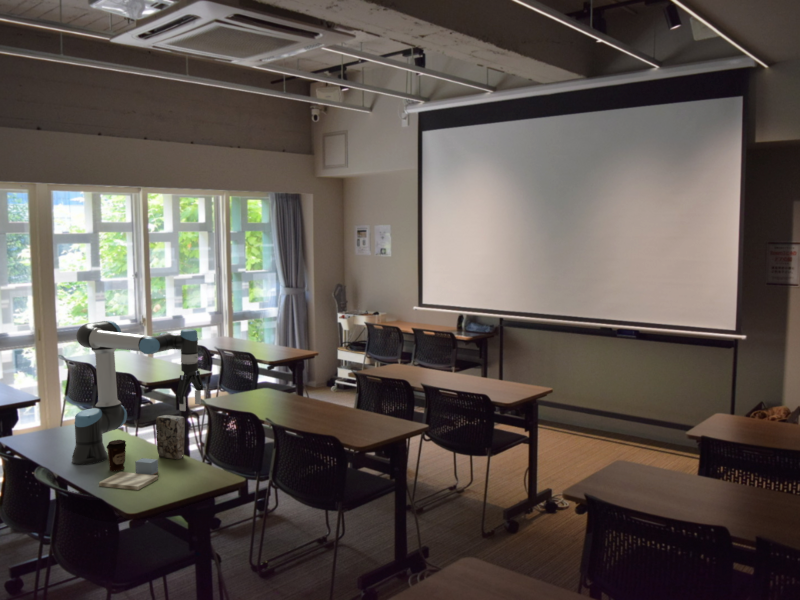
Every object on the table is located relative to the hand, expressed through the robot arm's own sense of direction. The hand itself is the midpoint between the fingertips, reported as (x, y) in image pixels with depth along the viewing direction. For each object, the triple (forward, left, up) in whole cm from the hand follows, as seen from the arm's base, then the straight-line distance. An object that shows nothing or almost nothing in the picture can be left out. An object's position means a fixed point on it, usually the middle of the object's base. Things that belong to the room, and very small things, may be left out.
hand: (190, 407), depth 316 cm
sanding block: (-10, -21, -26) cm, 35 cm away
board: (-10, -33, -26) cm, 43 cm away
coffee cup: (-26, -20, -26) cm, 42 cm away
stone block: (-13, +2, -26) cm, 29 cm away
